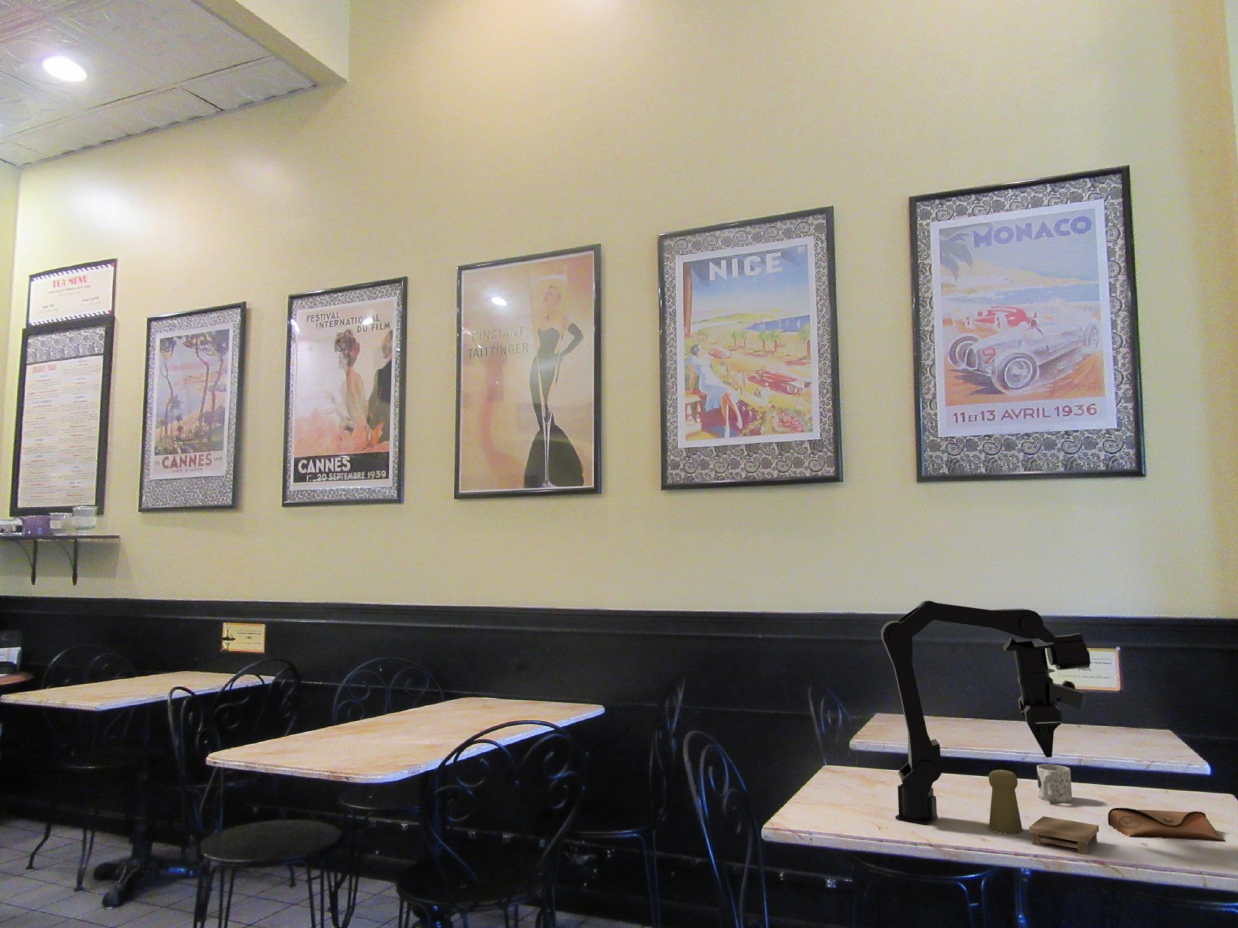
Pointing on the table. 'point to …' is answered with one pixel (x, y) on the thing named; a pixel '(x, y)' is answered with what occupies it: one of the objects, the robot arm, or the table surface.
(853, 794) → the table surface
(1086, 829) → the footstool
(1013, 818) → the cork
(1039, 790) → the mug
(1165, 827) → the sunglasses case
